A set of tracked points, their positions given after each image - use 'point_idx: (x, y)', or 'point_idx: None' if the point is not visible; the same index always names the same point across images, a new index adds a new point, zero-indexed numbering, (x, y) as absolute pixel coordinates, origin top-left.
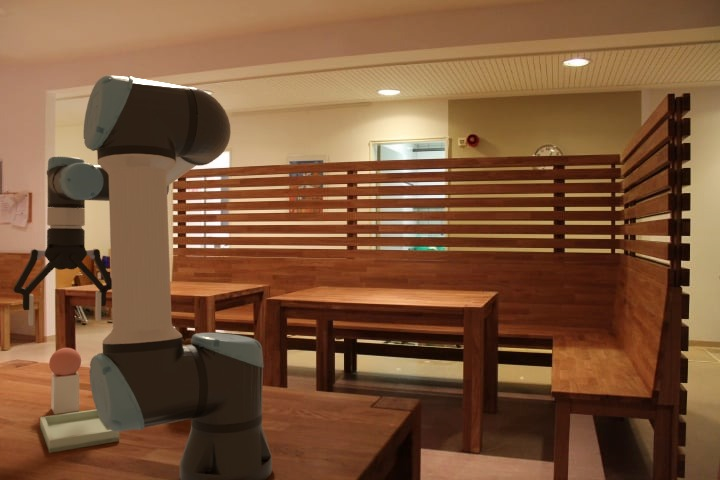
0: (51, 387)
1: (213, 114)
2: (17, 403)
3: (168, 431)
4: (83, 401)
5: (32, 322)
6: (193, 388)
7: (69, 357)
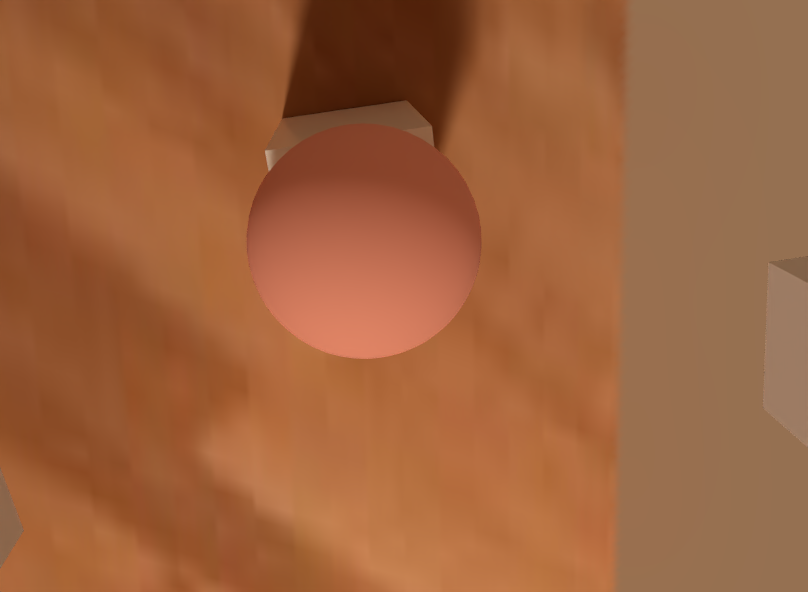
0: None
1: None
2: (573, 369)
3: None
4: None
5: (806, 271)
6: None
7: (332, 154)
